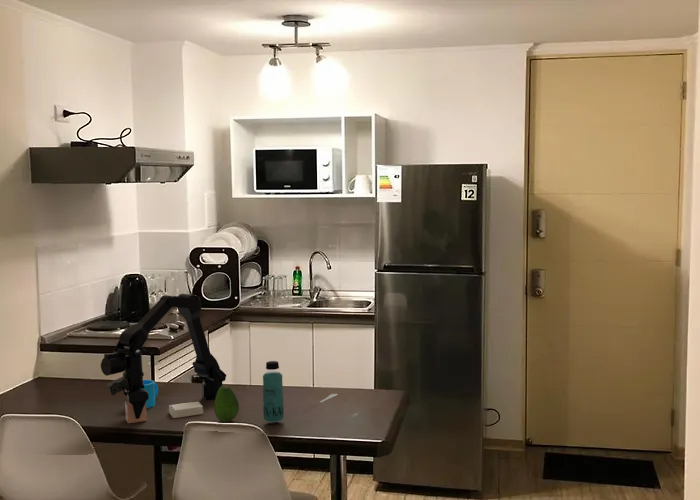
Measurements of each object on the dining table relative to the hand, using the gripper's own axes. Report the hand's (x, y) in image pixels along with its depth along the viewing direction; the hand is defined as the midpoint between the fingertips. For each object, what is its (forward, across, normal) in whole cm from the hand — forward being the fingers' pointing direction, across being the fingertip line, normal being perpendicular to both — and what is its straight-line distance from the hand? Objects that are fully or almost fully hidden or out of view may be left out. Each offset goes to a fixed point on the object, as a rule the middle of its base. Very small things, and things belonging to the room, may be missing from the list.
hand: (135, 415), depth 262 cm
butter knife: (+2, +10, +61) cm, 62 cm away
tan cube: (+2, 0, 0) cm, 2 cm away
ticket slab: (+2, 0, +16) cm, 16 cm away
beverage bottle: (+2, +25, +39) cm, 47 cm away
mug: (+2, -18, +6) cm, 19 cm away
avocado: (+2, +16, +26) cm, 31 cm away
